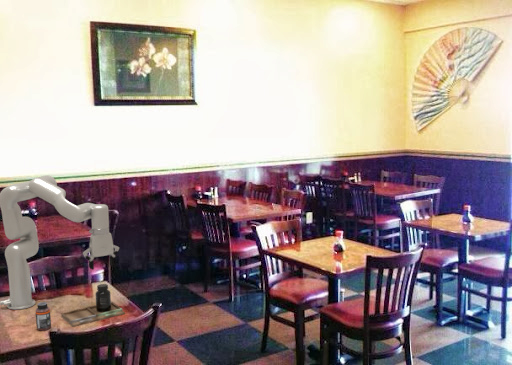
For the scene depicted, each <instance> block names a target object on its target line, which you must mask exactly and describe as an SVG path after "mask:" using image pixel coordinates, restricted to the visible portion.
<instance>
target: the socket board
mask: <svg viewBox="0 0 512 365" xmlns="http://www.w3.org/2000/svg"><path fill="white" fill-rule="evenodd" d="M125 312H126V311H124V310H123V308H122V307H120V306H119V305H117V304H116V303H115V302H113V301H112V300H111V310H109V311H107V312H98V311H97V310H96V304H95V305H89V306H86V307H82V308H81V307H80V308H77V309H73V310H69V311H65V312H61V313H60V317H61V318H62V319H63V320H64V321H65V322H66V323H68V324H69V325H70V326H71V328H74V327H77V326H83V325H86V324H91V323H94V322H95V323H96V322H99V321H103V320H106V319H110V318H114V317H119V316H123V315H126V313H125Z"/></svg>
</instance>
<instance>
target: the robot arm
mask: <svg viewBox="0 0 512 365" xmlns="http://www.w3.org/2000/svg"><path fill="white" fill-rule="evenodd" d="M66 195H67V193H66V190H65V189H64V188H62V187H60V186H58V183H57V181H56V178H54V177H53V176H52V175H41V176H37V177H34V178H32V179H31V180H28V181H24V182H19V183H14V184H10V185H8V186H6V187H4V188H3V189H2V190H1V191H0V210H1V216H2V224H3V228H4V234H5V236H6V238H7V239H8V240H10V241H11V240H13V241H14V242H12V243H10V244H8V246H7V247H6V248H5V250H4V257H5V260H6V265H7V271H8V272H7V273H8V285H9V296H8V298H6V299H3V300H0V306H2V305H3V306H6V307H7V309H10V310H24V309H29V308H31V307H33V306H34V305H35V304H36V300H35V299H33V298H32V297H33V296H32V286H31V285H32V284H31V271H30V270H31V269H30V265H29V263H28V261H27V259H29V258H31V257H33V256H35V255H37V253H38V251H39V246H40V245H39V244H40V243H39V238H38V231H37V226H36V223H35V221H34V220H33V219H32V218H31V217H30V216H23V214H22V209H21V206H20V205H19V204H18V203H19V202H22V201H27V200H32V199H34V198H37V197H38V198H40V199H42V200H44V201H45V202H46V203H49V204H51V205H52V206H53V207H54V208H55V210H56V211H57V212H58V213H59V214H60V215H61V216H62V217H64V218H66V219H68V220H70V221H71V222H74V223H81V222H84V221H87V220H90V219H91V229H89V231H88V233H89V234H90V239H89V247H88V248H87V249H86V250H84V251H83V252H82V255H83V256H84V259H87V261H88V267H89V269H90V270H92V271H93V270H94V269H95V267H94V266H95V265H94V259H95V258H99V257H104V256H109V265H110V266H112V267H114V266H115V258H116V255H117V254H118V253H119V250H120V247H119V246H117V245H115V244H114V241H113V237H112V233H111V232H110V225H109V224H110V223H109V221H110V219H109V218H110V216H109V207H108V205H107V204H105V203H101V204H100V203H99V204H96V203H92V202H84V203H82V204H78V205H76V204H74V203H72V202H70V201H69V200H68V199H66ZM19 239H20V240H19ZM15 240H17V241H15ZM88 253H89V255H88Z"/></svg>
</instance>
